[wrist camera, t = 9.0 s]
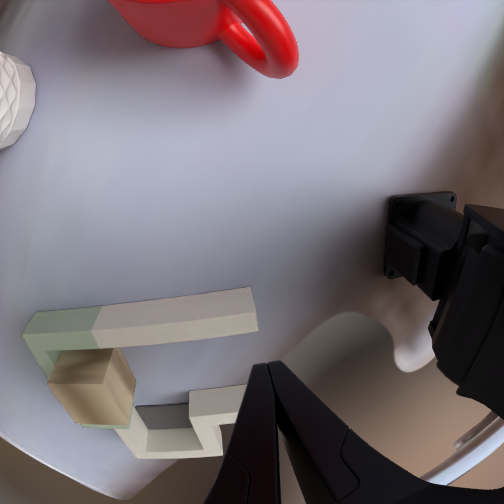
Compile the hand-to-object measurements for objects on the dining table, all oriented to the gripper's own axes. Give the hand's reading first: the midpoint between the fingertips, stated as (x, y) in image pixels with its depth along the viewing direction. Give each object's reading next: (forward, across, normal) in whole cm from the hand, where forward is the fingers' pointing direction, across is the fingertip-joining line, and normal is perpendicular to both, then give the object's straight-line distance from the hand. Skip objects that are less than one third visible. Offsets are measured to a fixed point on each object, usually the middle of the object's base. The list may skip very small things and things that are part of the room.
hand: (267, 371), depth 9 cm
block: (+12, +13, +10) cm, 20 cm away
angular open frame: (+12, +8, +13) cm, 20 cm away
